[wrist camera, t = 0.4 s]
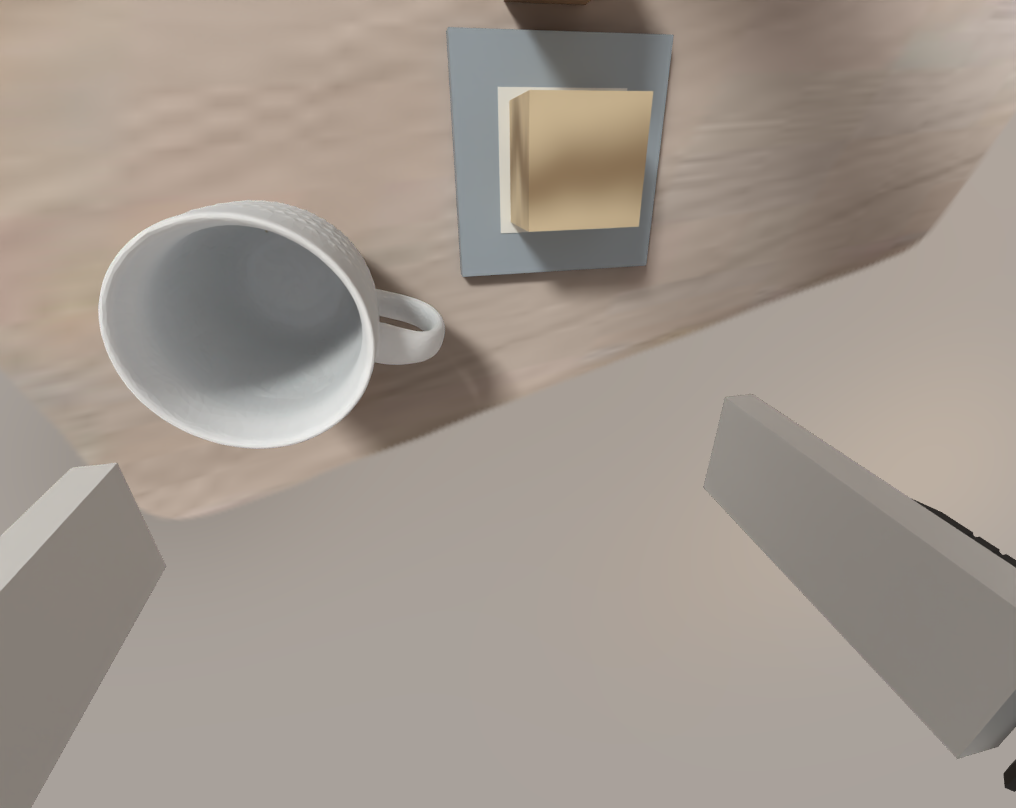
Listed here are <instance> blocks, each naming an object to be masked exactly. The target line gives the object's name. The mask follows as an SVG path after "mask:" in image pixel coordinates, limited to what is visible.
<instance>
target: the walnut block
mask: <svg viewBox="0 0 1016 808" xmlns="http://www.w3.org/2000/svg"><path fill="white" fill-rule="evenodd" d="M504 1H506V2H529V3H552V4H575V5H586V4H587V3H588V2H589V1H591V0H504Z"/></svg>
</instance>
